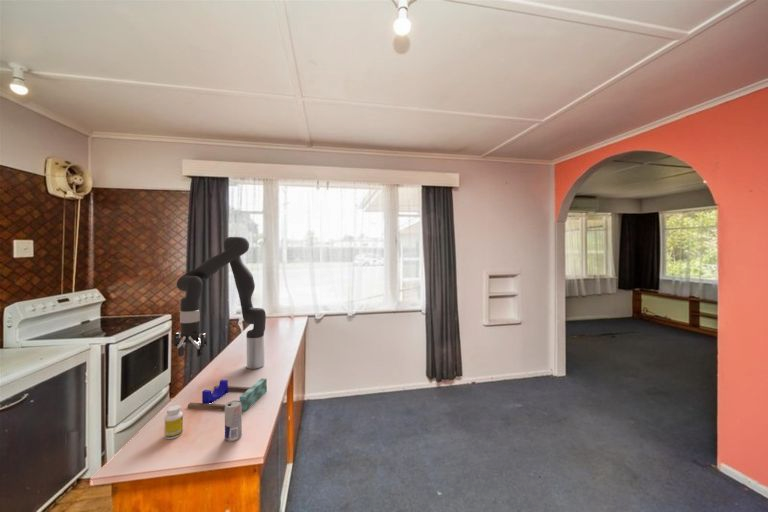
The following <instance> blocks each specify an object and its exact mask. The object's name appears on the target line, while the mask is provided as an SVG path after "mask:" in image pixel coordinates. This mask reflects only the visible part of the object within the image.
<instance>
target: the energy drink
mask: <svg viewBox="0 0 768 512" xmlns="http://www.w3.org/2000/svg"><path fill="white" fill-rule="evenodd" d="M224 405H225V410H224V440H225V441H226V442H228V443H230V442H236V441H238V440H239V439H240V438H241V437H242V436H243V432H242V430H243V427H242V426H243V425H242V424H243V422H242V421H243V420H242V419H243V418H242V415H243V413H242V412H243V411H242V404H241V402H240V400H232V401H228V402H227V403H226V404H224Z"/></svg>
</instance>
